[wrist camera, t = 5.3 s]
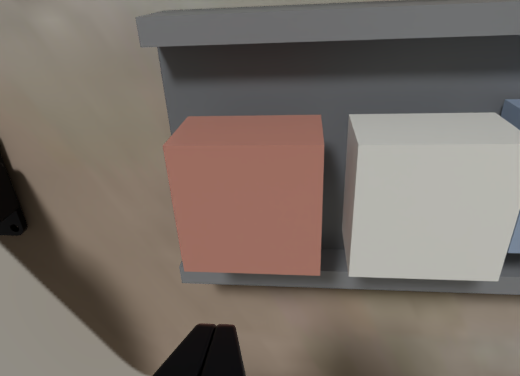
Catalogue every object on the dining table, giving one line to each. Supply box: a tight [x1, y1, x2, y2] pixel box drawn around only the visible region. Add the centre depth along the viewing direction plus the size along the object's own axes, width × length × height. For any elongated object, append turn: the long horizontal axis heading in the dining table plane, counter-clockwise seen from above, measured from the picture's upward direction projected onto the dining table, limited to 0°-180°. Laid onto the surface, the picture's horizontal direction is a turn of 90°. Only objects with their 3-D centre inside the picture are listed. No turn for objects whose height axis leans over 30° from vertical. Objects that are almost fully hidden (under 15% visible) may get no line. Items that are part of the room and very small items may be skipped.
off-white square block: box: [342, 112, 520, 281], centre depth 14 cm, size 5×5×3 cm
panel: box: [135, 0, 520, 295], centre depth 17 cm, size 20×12×3 cm, turn 92°
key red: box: [163, 115, 324, 276], centre depth 15 cm, size 5×5×3 cm
